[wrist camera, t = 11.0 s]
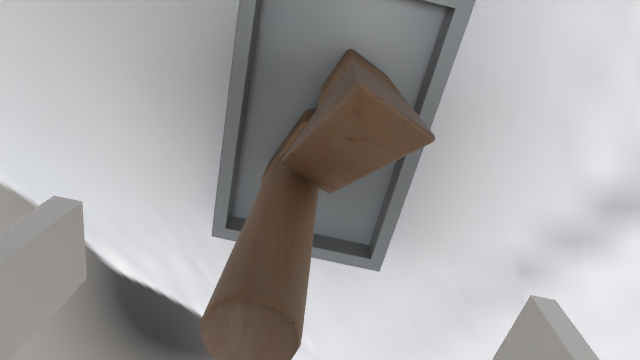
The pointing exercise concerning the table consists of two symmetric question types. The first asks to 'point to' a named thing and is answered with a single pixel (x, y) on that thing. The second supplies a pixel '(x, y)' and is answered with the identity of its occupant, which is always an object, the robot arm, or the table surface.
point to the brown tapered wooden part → (304, 209)
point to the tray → (303, 94)
